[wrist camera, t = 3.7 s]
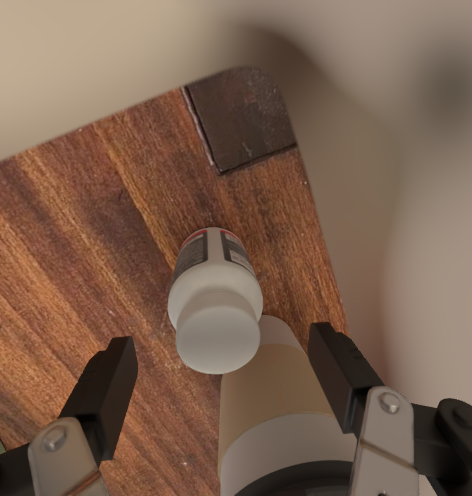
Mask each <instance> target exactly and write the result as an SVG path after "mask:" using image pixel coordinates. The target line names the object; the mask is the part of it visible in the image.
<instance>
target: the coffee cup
mask: <svg viewBox="0 0 472 496" xmlns="http://www.w3.org/2000/svg"><path fill="white" fill-rule="evenodd" d="M258 325H259V329H260V344H259V347H258V350H257V352H256V353H255V355H254V356H253V358H252V359H251V360H250V361H249V362H248V363H246V364H245V365H244V366H242V367H240V368H239V369H237V370H234V371H231V372H228V373H224V374H223V377H222V381H221V401H220V427H219V454H218V476H219V480H220V482H221V496H267V495H269V494H271V493H274V492H281V491H289V490H297V489H304V488H305V491H306V495H307V496H347V491H348V486H349V481H350V475H351V470H352V465H353V459H354V454H355V449H356V444H357V439H356V437H355V435H354V433H350V434H343V432H342V430H341V428H340V426H339V424H338V422H337V420H336V418H335V415H334V413H333V411H332V409H331V407H330V405H329V403H328V400H327V398H326V396H325V394H324V392H323V390H322V388H321V385H320V383H319V381H318V379H317V377H316V375H315V373H314V371H313V368H312V366H311V364H310V361H309V358H308V356H307V355H306V354H305V352H304V350H303V349H302V347H301V345H300V344H299V342H298V340H297V339H296V337H295V335H294V334H293V332H292V330H291V329H290V327H289V326H288V325H287V324H286V323H285V322H284V321H283V320H281V319H279V318H277V317H274V316H270V315H261V317H260V319H259V321H258Z"/></svg>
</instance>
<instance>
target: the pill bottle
mask: <svg viewBox="0 0 472 496" xmlns="http://www.w3.org/2000/svg"><path fill="white" fill-rule="evenodd" d="M262 310H263V296H262V292H261V288H260V285H259V283H258V281H257V278H256V276H255V273H254V270H253V268H252V265H251V262H250V260H249V257H248V254H247V252H246V250H245V247H244V245H243V243H242V242H241V240H240V239H239V238H238V237H237V236H236V235H235V234H233V233H232V232H230V231H228V230H226V229H223V228H218V227H208V228H203V229H200V230H197V231H195V232H194V233H193V234H191V235H190V236H189V237H188V238H187V239H186V240H185V241H184V242H183V244H182V246H181V248H180V251H179V253H178V257H177V262H176V266H175V271H174V275H173V280H172V283H171V288H170V292H169V298H168V314H169V318H170V320H171V323H172V325H173V326H174V328H175V329H176V348H177V351H178V354H179V356H180V358H181V359H182V360H183V361H184V362H185V363H186V364H187V365H188V366H189V367H191V368H192V369H194V370H196V371H199V372H202V373H207V374H224V373H228V372H231V371H234V370H237V369H239V368H240V367H242V366H244V365H245V364H246V363H248V362H249V361H250V360H251V359H252V358H253V356H254V355H255V353H256V352H257V350H258V347H259V344H260V329H259V325H258V321H259V319H260V317H261V314H262Z"/></svg>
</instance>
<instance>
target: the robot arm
mask: <svg viewBox="0 0 472 496" xmlns="http://www.w3.org/2000/svg"><path fill="white" fill-rule="evenodd" d="M308 358H309V361H310V364H311V366H312V368H313V371H314V373H315V375H316V377H317V379H318V381H319V383H320V385H321V388H322V390H323V392H324V394H325V396H326V398H327V400H328V403H329V405H330V407H331V409H332V411H333V413H334V415H335V418H336V420H337V422H338V424H339V426H340V428H341V430H342V432H343V434H350V433H354V435H355V437H356V439H357V444H356V449H355V454H354V459H353V465H352V470H351V475H350V481H349V486H348V491H347V496H419V474H421V475H425V476H426V477H427V479H428V481H429V482H430V484H431V486H432V487H433V489H434V491H435V492H436V494H437V496H472V406H471V405H469V404H467V403H465V402H463V401H460V400H457V399H451V398H448V399H443V400H441V401H440V402H439V405H438V407H437V408H433V407H428V406H422V405H417V404H413V403H410V402H409V401H408V400H407V399H406V397H404V396H403V395H402V394H401V393H399V392H398V391H396V390H394V389H392V388H389V387H386V386H385V385H384V383H383V382H382V381H381V379H380V378H379V377H378V375H377V374H376V372H375V371H374V370H373V368H372V367H371V366H370V364H369V363H368V362H367V361H366V359H365V358H364V357H363V355H362V353H361V352H360V351H359V350H358V348H357V347H356V345H355V344H354V343H353V341H352V340H351V339H350V338H349V337H347V336H346V335H344V334H343V333H342V332H337V333H336V332H335V330H334V329H333V327H332V326H331V324H330V323H329V322H317V323H311V325H310V332H309V342H308ZM137 374H138V363H137V357H136V352H135V347H134V342H133V338H132V336H126V337H113V338H112V339H111V341H110V343H109V345H108V347H107V349H106V350H105V351H99V352H98V353H97V354H95V355H94V356H93V357H92V358H91V359H90V360H89V362H88V363H87V365H86V367H85V369H84V371H83V374H81V376H80V378H79V380H78V383H77V384H76V385H75V387H74V389H73V391H72V393H71V395H70V396H69V398H68V400H67V402H66V404H65V406H64V407H63V409H62V411H61V413H60V415H59V417H58V418H57V420H54V421H53V422H51V423H49V424H47V425H46V426H45V427H43V428H42V429H41V430H40V431H39V432H38V433H37V434H36V435H35V436H34V438H33V439H32V441H31V442H30V443H28V444H25V445H23V446H20V447H18V448H15V449H12V450H10V451H7V452H4V453H2V454H0V496H110V494H109V492H108V489H107V487H106V484H105V482H104V479H103V477H102V475H101V472H100V471H99V470H98V469H99V466H100V463H101V461H105V460H112V459H113V455H114V452H115V449H116V446H117V442H118V439H119V436H120V432H121V429H122V426H123V422H124V419H125V416H126V412H127V409H128V406H129V402H130V399H131V396H132V392H133V389H134V386H135V382H136V379H137ZM267 496H307V495H306V491H305V488H304V489H297V490H289V491H281V492H274V493H271V494H269V495H267Z"/></svg>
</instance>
